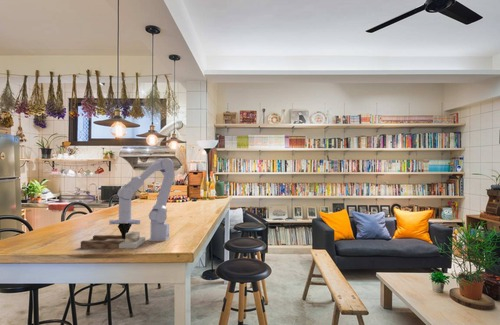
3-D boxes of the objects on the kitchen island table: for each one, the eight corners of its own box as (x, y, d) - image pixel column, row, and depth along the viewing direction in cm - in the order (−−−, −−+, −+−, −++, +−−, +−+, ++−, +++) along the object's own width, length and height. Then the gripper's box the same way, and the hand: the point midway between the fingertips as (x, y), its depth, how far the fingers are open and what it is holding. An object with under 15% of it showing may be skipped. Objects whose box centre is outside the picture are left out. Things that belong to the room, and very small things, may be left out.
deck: (145, 241, 148) (145, 235, 148) (135, 248, 135) (135, 241, 135) (94, 241, 147) (95, 235, 147) (80, 248, 134) (80, 241, 134)
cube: (139, 239, 144) (139, 231, 144) (135, 242, 139) (135, 233, 139) (129, 239, 143) (129, 231, 144) (125, 242, 138) (125, 233, 139)
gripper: (106, 212, 137) (106, 240, 137) (136, 212, 138) (136, 240, 137) (113, 210, 144) (112, 237, 144) (141, 210, 145) (141, 237, 144)
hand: (124, 238), depth 141 cm, fingers closed
